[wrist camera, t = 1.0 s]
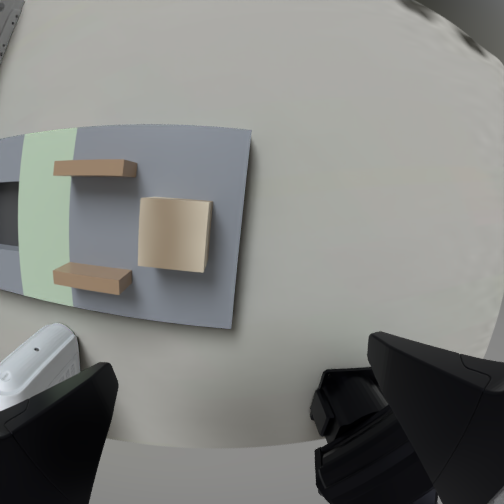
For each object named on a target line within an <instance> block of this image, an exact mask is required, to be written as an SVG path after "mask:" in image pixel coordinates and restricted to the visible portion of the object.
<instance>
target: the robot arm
mask: <svg viewBox="0 0 504 504" xmlns="http://www.w3.org/2000/svg"><path fill="white" fill-rule="evenodd" d="M367 357H368V361H369V363H370V365H371V367H366V368H350V369H328V370H326V371H324V372H323V374H322V378H321V381H320V385H319V388H318V389H317V390H316V392H315V395H314V398H313V401H312V405H311V408H310V409H311V414H310V418H311V420H314V421H315V423H316V426H317V429H318V432H319V435H320V436H321V437H324V436H325V437H326V440H327V443H328V444H327V445H325V446H323V447H320V448H318V449H316V450H315V470H316V486H317V488H318V492H319V494H320V495H321V496H323V497H324V498H325V499H326V500H327V501H328V502H329V503H330V504H438V503H437V499H438V495H439V497H440V499H441V501H442V503H443V504H504V362H496V361H491V360H486V359H480V358H476V357H472V356H468V355H464V354H459V353H456V352H452V351H448V350H445V349H441V348H437V347H434V346H430V345H426V344H423V343H419V342H416V341H412V340H409V339H405V338H402V337H398V336H395V335H391V334H388V333H385V332H381V331H380V332H375V333H372V334H370V335H369V340H368V352H367ZM328 374H330V375H328ZM327 375H328V376H327ZM117 392H118V380H117V378H116V375H115V373H114V370H113V368H112V366H111V364H110V363H107V362H99V363H97V364H95V365H93V366H91V367H89V368H88V369H86V370H84V371H82V372H80V373H78V374H76V375H74V376H72V377H70V378H68V379H66V380H64V381H62V382H60V383H58V384H56V385H54V386H52V387H50V388H48V389H46V390H44V391H42V392H40V393H38V394H36V395H34V396H32V397H30V399H26V400H24V401H22V402H20V403H18V404H16V405H14V406H11V407H9V408H7V409H4V410H2V411H0V504H89V500H90V496H91V492H92V487H93V483H94V479H95V475H96V472H97V468H98V464H99V461H100V457H101V454H102V450H103V447H104V443H105V440H106V437H107V433H108V430H109V427H110V424H111V420H112V416H113V411H114V406H115V401H116V396H117Z"/></svg>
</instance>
